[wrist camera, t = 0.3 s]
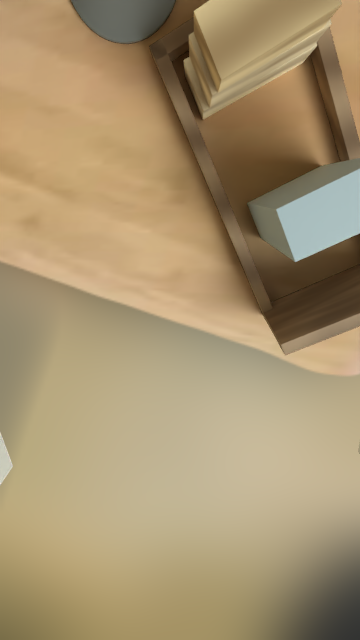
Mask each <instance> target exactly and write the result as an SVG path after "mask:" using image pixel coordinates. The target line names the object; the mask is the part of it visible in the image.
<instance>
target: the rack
mask: <svg viewBox="0 0 360 640" xmlns="http://www.w3.org/2000/svg"><path fill="white" fill-rule="evenodd" d="M193 32H194V17H193V18H192V19H190V20H189V21H187V22H186V23H184V24H183V25H181V26H179V27H178V28H176V29H175V30H173V31H172V32H170V33H169V34H167V35H166V36H164V37H163V38H161V39H159V40H158V41H156V42H155V43H153V44H152V45H150V46H149V47H150V50H151V53H152V56H153V59H154V61H155V63H156V66H157V68H158V70H159V73H160V75H161V77H162V80H163V82H164V84H165V87H166V89H167V91H168V94H169V96H170V98H171V101H172V103H173V106H174V108H175V110H176V113H177V115H178V117H179V120H180V122H181V124H182V127H183V129H184V131H185V134H186V136H187V138H188V141H189V143H190V145H191V148H192V150H193V152H194V155H195V157H196V159H197V162H198V164H199V166H200V169H201V171H202V173H203V176H204V178H205V180H206V183H207V185H208V188H209V190H210V192H211V195H212V197H213V199H214V202H215V204H216V206H217V209H218V211H219V213H220V216H221V218H222V220H223V223H224V225H225V227H226V230H227V232H228V234H229V237H230V239H231V241H232V244H233V246H234V248H235V251H236V253H237V255H238V258H239V260H240V262H241V265H242V267H243V269H244V272H245V274H246V277H247V279H248V281H249V284H250V286H251V288H252V291H253V293H254V295H255V298H256V300H257V302H258V305H259V307H260V309H261V312H262V314H263V316H264V318H265V320H266V322H267V323H268V325H269V327H270V329H271V331H272V332H273V334H274V336H275V338H276V340H277V341H278V343H279V345H280V347H281V349H282V350H283V352H284V354H285V355H288V354H290V353H293V352H295V351H298V350H300V349H303V348H305V347H308V346H311V345H313V344H316V343H318V342H321V341H323V340H326V339H329V338H331V337H334V336H336V335H339V334H341V333H344V332H346V331H349V330H352V329H354V328H357V327H359V326H360V264H359V265H357V266H355V267H352V268H350V269H348V270H345V271H343V272H341V273H338V274H336V275H334V276H331V277H329V278H327V279H324V280H322V281H320V282H317V283H315V284H313V285H310V286H308V287H306V288H303V289H301V290H299V291H296V292H294V293H292V294H289V295H287V296H285V297H282V298H280V299H278V300H275V301H273V302H271V303H270V300H269V298H268V295H267V293H266V290H265V288H264V286H263V283H262V281H261V278H260V276H259V273H258V271H257V269H256V266H255V264H254V261H253V259H252V256H251V254H250V252H249V249H248V247H247V244H246V242H245V240H244V237H243V235H242V232H241V230H240V227H239V225H238V223H237V220H236V218H235V215H234V213H233V210H232V208H231V206H230V203H229V201H228V198H227V196H226V193H225V191H224V189H223V186H222V184H221V181H220V179H219V176H218V174H217V172H216V169H215V167H214V164H213V162H212V159H211V157H210V155H209V152H208V150H207V147H206V145H205V142H204V140H203V138H202V135H201V133H200V130H199V128H198V125H197V123H196V121H195V118H194V116H193V113H192V111H191V108H190V106H189V104H188V101H187V99H186V96H185V94H184V91H183V89H182V87H181V84H180V82H179V79H178V77H177V74H176V72H175V70H174V67H173V65H172V62H171V61H172V60H174V59H176V58H177V57H179V56H180V55H182V54H184V53H185V52H187V51H188V50H189V35H190V34H191V33H193ZM310 55H311V59H312V62H313V66H314V69H315V73H316V77H317V80H318V84H319V87H320V91H321V94H322V98H323V101H324V105H325V108H326V112H327V115H328V119H329V122H330V126H331V129H332V133H333V136H334V140H335V144H336V147H337V151H338V154H339V158H340V161H341V162H342V161H347V160H352V159H357V158H360V142H359V138H358V134H357V130H356V126H355V123H354V119H353V115H352V111H351V107H350V103H349V99H348V96H347V92H346V88H345V84H344V80H343V76H342V72H341V69H340V65H339V61H338V57H337V53H336V49H335V45H334V42H333V38H332V34H331V30H330V27H329V28H328V29H327V30H326V31H325V33H324V34H323V35H322V36H321V38H320V39H319V40H318V41H317V47H316V48H315V49H314V50H313V51H312V53H311V54H310Z"/></svg>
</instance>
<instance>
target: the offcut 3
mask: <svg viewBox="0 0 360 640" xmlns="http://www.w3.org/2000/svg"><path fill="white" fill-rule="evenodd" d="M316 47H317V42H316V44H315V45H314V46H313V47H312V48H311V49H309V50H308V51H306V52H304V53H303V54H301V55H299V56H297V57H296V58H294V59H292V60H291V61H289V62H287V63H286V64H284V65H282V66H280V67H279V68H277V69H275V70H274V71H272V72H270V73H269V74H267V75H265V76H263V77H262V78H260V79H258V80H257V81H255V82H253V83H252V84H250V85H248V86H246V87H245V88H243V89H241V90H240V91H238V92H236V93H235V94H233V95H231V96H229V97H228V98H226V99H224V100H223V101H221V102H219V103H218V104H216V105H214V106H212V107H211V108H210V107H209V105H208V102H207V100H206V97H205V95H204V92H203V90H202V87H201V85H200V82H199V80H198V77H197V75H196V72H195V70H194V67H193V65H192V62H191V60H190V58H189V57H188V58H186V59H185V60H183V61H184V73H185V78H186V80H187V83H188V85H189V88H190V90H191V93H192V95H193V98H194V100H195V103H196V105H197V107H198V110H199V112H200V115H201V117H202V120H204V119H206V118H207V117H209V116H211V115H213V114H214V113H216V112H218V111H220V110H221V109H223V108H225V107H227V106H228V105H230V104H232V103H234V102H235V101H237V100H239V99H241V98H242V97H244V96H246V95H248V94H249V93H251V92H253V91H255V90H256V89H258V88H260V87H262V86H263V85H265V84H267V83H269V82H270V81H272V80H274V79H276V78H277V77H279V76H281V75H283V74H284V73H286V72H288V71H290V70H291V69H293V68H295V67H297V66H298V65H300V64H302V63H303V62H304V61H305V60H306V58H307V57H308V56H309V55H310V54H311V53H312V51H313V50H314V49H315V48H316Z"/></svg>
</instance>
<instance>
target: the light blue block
mask: <svg viewBox="0 0 360 640" xmlns="http://www.w3.org/2000/svg"><path fill="white" fill-rule="evenodd" d="M247 205H248V207H249V210H250V212H251V215H252V217H253V220H254V222H255V225H256V228H257V230H258V233H259V235H260V238H261V239H263V240H264V241H266V242H267V243H269V244H270V245H271V246H273V247H274V248H276V249H277V250H279V251H280V252H282V253H283V254H284V255H286V256H287V257H289V258H290V259H292V260H293V261H294V262H297V261H299V260H301V259H304V258H306V257H308V256H310V255H312V254H315V253H317V252H319V251H321V250H324V249H326V248H328V247H330V246H333V245H335V244H337V243H339V242H342V241H344V240H346V239H348V238H350V237H353V236H355V235H357V234H359V233H360V158H357V159H352V160H347V161H342V162H337V163H332V164H328V165H323V166H320V167H318V168H316V169H314V170H312V171H310V172H308V173H306V174H304V175H302V176H300V177H298V178H296V179H294V180H292V181H290V182H288V183H286V184H284V185H282V186H280V187H278V188H276V189H274V190H272V191H270V192H268V193H266V194H264V195H262V196H260V197H258V198H256V199H254V200H252V201H250V202H248V203H247Z"/></svg>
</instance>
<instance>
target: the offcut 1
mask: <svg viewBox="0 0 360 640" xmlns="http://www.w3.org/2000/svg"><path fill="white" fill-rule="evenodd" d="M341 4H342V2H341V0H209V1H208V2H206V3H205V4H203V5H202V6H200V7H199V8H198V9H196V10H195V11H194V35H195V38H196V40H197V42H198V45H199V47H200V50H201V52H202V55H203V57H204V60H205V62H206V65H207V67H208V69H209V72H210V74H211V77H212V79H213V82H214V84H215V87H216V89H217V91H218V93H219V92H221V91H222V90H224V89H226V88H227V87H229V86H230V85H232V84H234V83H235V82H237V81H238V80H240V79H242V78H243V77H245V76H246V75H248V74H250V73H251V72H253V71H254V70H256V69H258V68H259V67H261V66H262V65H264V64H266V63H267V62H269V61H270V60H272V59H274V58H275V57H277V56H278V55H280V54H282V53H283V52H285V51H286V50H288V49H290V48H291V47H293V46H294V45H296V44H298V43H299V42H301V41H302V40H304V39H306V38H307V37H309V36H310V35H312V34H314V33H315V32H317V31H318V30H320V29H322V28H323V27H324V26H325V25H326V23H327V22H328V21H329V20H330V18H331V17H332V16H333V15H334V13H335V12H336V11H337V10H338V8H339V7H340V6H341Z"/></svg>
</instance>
